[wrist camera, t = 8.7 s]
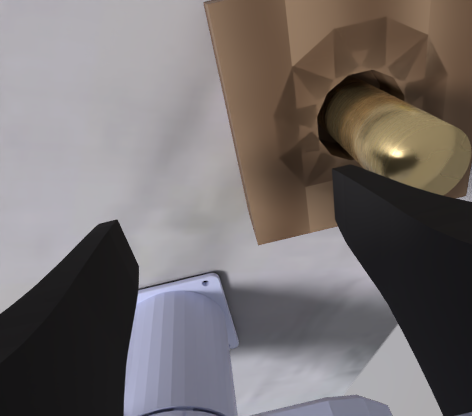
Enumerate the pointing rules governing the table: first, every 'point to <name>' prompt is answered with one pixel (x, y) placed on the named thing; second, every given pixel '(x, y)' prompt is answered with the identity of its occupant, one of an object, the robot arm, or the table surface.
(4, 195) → the table surface
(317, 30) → the socket block
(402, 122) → the brass peg
